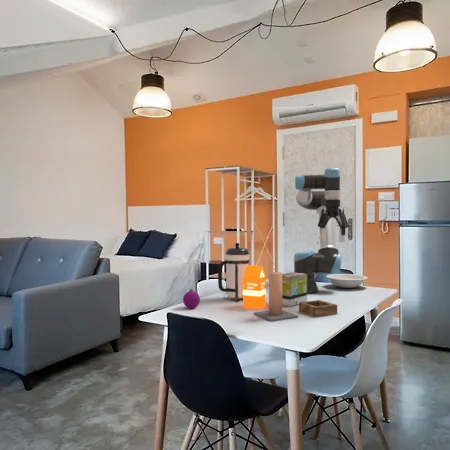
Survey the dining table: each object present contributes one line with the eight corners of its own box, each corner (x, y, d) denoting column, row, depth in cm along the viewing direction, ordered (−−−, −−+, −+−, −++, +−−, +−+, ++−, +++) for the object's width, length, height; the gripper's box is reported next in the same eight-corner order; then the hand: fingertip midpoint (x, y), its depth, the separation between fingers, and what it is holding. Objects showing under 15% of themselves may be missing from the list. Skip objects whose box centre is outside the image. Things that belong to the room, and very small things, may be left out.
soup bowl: (370, 291, 228) (370, 280, 228) (327, 290, 232) (327, 279, 232) (363, 284, 251) (363, 274, 251) (324, 283, 256) (324, 273, 256)
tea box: (291, 307, 191) (291, 276, 191) (274, 304, 198) (273, 274, 197) (307, 302, 202) (307, 273, 202) (290, 299, 209) (290, 271, 208)
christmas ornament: (183, 310, 187) (183, 289, 186) (182, 306, 195) (182, 286, 194) (201, 309, 188) (200, 288, 188) (199, 305, 196) (198, 285, 196)
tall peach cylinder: (266, 313, 176) (265, 272, 176) (277, 311, 178) (277, 271, 178) (273, 316, 170) (273, 274, 170) (285, 314, 173) (284, 273, 173)
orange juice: (249, 304, 198) (248, 264, 198) (265, 305, 194) (265, 265, 194) (243, 307, 191) (242, 266, 191) (260, 309, 187) (259, 266, 187)
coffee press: (225, 295, 220) (224, 241, 219) (253, 296, 217) (253, 241, 216) (218, 302, 203) (217, 243, 203) (249, 303, 200) (248, 243, 199)
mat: (253, 314, 178) (253, 312, 178) (280, 310, 184) (280, 309, 184) (270, 321, 165) (270, 319, 165) (298, 317, 171) (298, 315, 171)
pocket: (298, 311, 182) (298, 302, 182) (319, 308, 188) (319, 299, 187) (315, 317, 172) (315, 307, 171) (337, 313, 177) (337, 304, 177)
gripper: (310, 200, 210) (311, 240, 210) (344, 197, 187) (344, 242, 188) (322, 200, 213) (322, 239, 214) (356, 198, 191) (356, 242, 191)
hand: (332, 241), depth 201 cm, fingers open, 13 cm apart
